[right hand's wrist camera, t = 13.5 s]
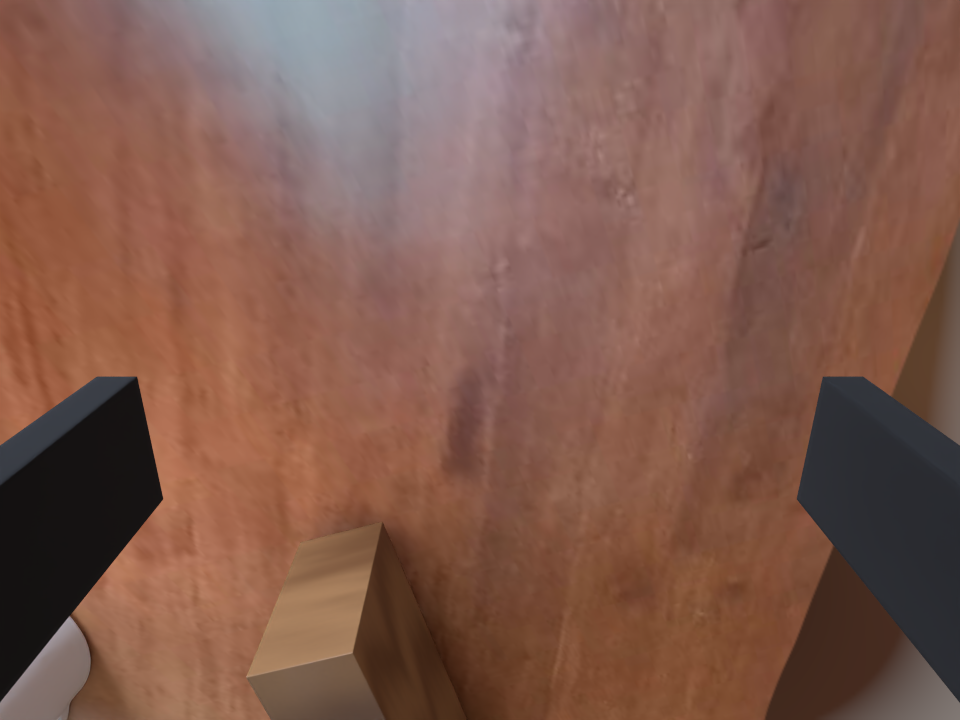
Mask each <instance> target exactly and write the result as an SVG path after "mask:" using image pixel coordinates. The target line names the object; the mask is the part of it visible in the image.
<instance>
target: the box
mask: <svg viewBox="0 0 960 720" xmlns="http://www.w3.org/2000/svg"><path fill="white" fill-rule="evenodd" d="M247 679H248V681H249V683H250V685H251V686H252V688H253V690H254V691H255V693H256V695H257V696H258V698H259V700H260V702H261V703H262V705H263V707H264V708H265V710H266V712H267V713H268V715H269V717H270V719H271V720H467V718H466V716H465V714H464V711H463V709H462V707H461V704H460V702H459V700H458V697H457V695H456V693H455V690H454V688H453V686H452V683H451V681H450V679H449V676H448V674H447V672H446V669H445V667H444V665H443V662H442V660H441V658H440V655H439V653H438V651H437V648H436V646H435V644H434V641H433V639H432V637H431V634H430V632H429V629H428V627H427V625H426V622H425V620H424V618H423V615H422V613H421V611H420V608H419V606H418V604H417V601H416V599H415V597H414V594H413V592H412V590H411V587H410V585H409V583H408V580H407V578H406V576H405V573H404V571H403V569H402V566H401V564H400V562H399V559H398V557H397V555H396V552H395V550H394V548H393V545H392V543H391V540H390V538H389V536H388V533H387V531H386V529H385V526H384V524H383V522H379V523H375V524H371V525H367V526H363V527H359V528H355V529H351V530H347V531H343V532H339V533H335V534H331V535H327V536H323V537H319V538H315V539H311V540H307V541H304V542H300V545H299V547H298V550H297V552H296V555H295V557H294V560H293V562H292V565H291V567H290V570H289V572H288V575H287V577H286V580H285V582H284V585H283V587H282V590H281V592H280V595H279V597H278V600H277V602H276V605H275V607H274V610H273V612H272V615H271V617H270V620H269V622H268V625H267V627H266V629H265V632H264V634H263V637H262V639H261V642H260V644H259V647H258V649H257V652H256V654H255V657H254V659H253V662H252V664H251V667H250V669H249V672H248V674H247Z"/></svg>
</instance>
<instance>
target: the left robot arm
mask: <svg viewBox="0 0 960 720" xmlns="http://www.w3.org/2000/svg"><path fill="white" fill-rule="evenodd" d="M90 666H91V657H90V651H89V647H88V644H87V642H86V639H85V637H84V635H83V633H82V632H81V630H80V628H79V627H78V626H77V624H76V623H75V622H74V620H73V619H72V618H71V617H70V616H69V617H68V619H67V620H66V621H65V622H64V624H63V625H62V626H61V627H60V629H59V630H58V631H57V632H56V633H55V635H54V636H53V637H52V638H51V640H50V641H49V642H48V643H47V645H46V646H45V647H44V648H43V650H42V651H41V652H40V653H39V655H38V656H37V657H36V658H35V660H34V661H33V662H32V663H31V665H30V666H29V667H28V668H27V670H26V671H25V672H24V673H23V675H22V676H21V677H20V678H19V680H18V681H17V682H16V683H15V685H14V686H13V687H12V688H11V690H10V691H9V692H8V693H7V695H6V696H5V697H4V698H3V700H2V701H1V702H0V720H67V719H68V714H69V706H70V702H71V700H72V699H73V698H74V697H75V696H76V694H77V693H78V692H79V691H80V690H81V689H82V687H83V686H84V684H85V683H86V681H87V679H88V676H89V673H90Z"/></svg>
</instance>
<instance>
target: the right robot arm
mask: <svg viewBox="0 0 960 720" xmlns="http://www.w3.org/2000/svg"><path fill="white" fill-rule="evenodd" d="M162 500H163V496H162V491H161V487H160V482H159V477H158V473H157V468H156V463H155V458H154V454H153V449H152V444H151V440H150V435H149V430H148V426H147V421H146V416H145V412H144V407H143V402H142V398H141V393H140V388H139V384H138V379H137V377H96V378H95V379H93V380H92V381H90V382H89V383H87V384H86V385H85V386H83V387H82V388H80V389H79V390H78V391H76V392H75V393H73V394H72V395H71V396H69V397H68V398H66V399H65V400H64V401H62V402H61V403H59V404H58V405H57V406H55V407H54V408H52V409H51V410H50V411H48V412H47V413H45V414H44V415H43V416H41V417H40V418H38V419H37V420H36V421H34V422H33V423H31V424H30V425H29V426H27V427H26V428H24V429H23V430H22V431H20V432H19V433H17V434H16V435H14V436H13V437H12V438H10V439H9V440H7V441H6V442H5V443H3V444H2V445H0V702H1V701H2V700H3V698H4V697H5V696H6V695H7V693H8V692H9V691H10V690H11V688H12V687H13V686H14V685H15V683H16V682H17V681H18V680H19V678H20V677H21V676H22V675H23V673H24V672H25V671H26V670H27V668H28V667H29V666H30V665H31V663H32V662H33V661H34V660H35V658H36V657H37V656H38V655H39V653H40V652H41V651H42V650H43V648H44V647H45V646H46V645H47V643H48V642H49V641H50V640H51V638H52V637H53V636H54V635H55V633H56V632H57V631H58V630H59V629H60V627H61V626H62V625H63V624H64V622H65V621H66V620H67V619H68V617H69V616H70V615H71V614H72V612H73V611H74V610H75V609H76V607H77V606H78V605H79V604H80V602H81V601H82V600H83V599H84V597H85V596H86V595H87V594H88V592H89V591H90V590H91V589H92V587H93V586H94V585H95V584H96V582H97V581H98V580H99V579H100V577H101V576H102V575H103V574H104V572H105V571H106V570H107V569H108V567H109V566H110V565H111V564H112V562H113V561H114V560H115V559H116V557H117V556H118V555H119V554H120V552H121V551H122V550H123V549H124V547H125V546H126V545H127V544H128V542H129V541H130V540H131V539H132V537H133V536H134V535H135V534H136V532H137V531H138V530H139V529H140V527H141V526H142V525H143V524H144V522H145V521H146V520H147V519H148V517H149V516H150V515H151V514H152V512H153V511H154V510H155V509H156V507H157V506H158V505H159V504H160V503H161V501H162ZM797 500H798V501H799V503H800V504H801V505H802V506H803V507H804V509H805V510H806V511H807V512H808V514H809V515H810V516H811V517H812V519H813V520H814V521H815V522H816V524H817V525H818V526H819V527H820V529H821V530H822V531H823V532H824V534H825V535H826V536H827V537H828V539H829V540H830V541H831V542H832V544H833V545H834V546H835V547H836V549H837V550H838V551H839V552H840V554H841V555H842V556H843V557H844V559H845V560H846V561H847V562H848V564H849V565H850V566H851V567H852V569H853V570H854V571H855V572H856V574H857V575H858V576H859V577H860V579H861V580H862V581H863V582H864V584H865V585H866V586H867V587H868V589H869V590H870V591H871V592H872V594H873V595H874V596H875V597H876V598H877V600H878V601H879V602H880V604H881V605H882V606H883V607H884V609H885V610H886V611H887V612H888V614H889V615H890V616H891V617H892V619H893V620H894V621H895V622H896V624H897V625H898V626H899V627H900V628H901V630H902V631H903V632H904V633H905V635H906V636H907V637H908V638H909V640H910V641H911V642H912V643H913V645H914V646H915V647H916V648H917V650H918V651H919V652H920V653H921V655H922V656H923V657H924V658H925V660H926V661H927V662H928V663H929V665H930V666H931V667H932V668H933V670H934V671H935V672H936V673H937V675H938V676H939V677H940V678H941V680H942V681H943V682H944V683H945V685H946V686H947V687H948V688H949V690H950V691H951V692H952V693H953V695H954V696H955V697H956V698H957V700H958V701H959V702H960V446H959V445H958V444H957V443H955V442H954V441H953V440H951V439H950V438H948V437H947V436H946V435H944V434H943V433H941V432H940V431H938V430H937V429H936V428H934V427H933V426H931V425H930V424H929V423H927V422H926V421H924V420H923V419H922V418H920V417H919V416H917V415H916V414H915V413H913V412H912V411H910V410H909V409H908V408H906V407H905V406H903V405H902V404H901V403H899V402H898V401H896V400H895V399H894V398H892V397H891V396H889V395H888V394H887V393H885V392H884V391H882V390H881V389H880V388H878V387H877V386H875V385H874V384H873V383H871V382H870V381H868V380H867V379H865V378H864V377H823V379H822V384H821V388H820V393H819V398H818V402H817V407H816V412H815V416H814V421H813V426H812V430H811V435H810V440H809V444H808V449H807V454H806V458H805V463H804V468H803V472H802V477H801V482H800V487H799V491H798V496H797Z"/></svg>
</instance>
